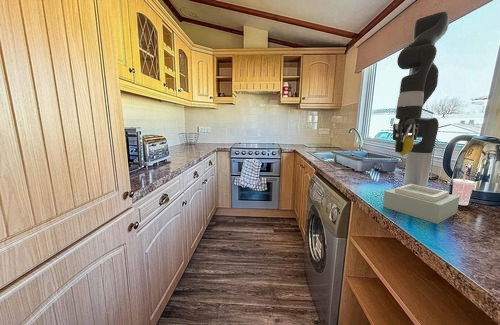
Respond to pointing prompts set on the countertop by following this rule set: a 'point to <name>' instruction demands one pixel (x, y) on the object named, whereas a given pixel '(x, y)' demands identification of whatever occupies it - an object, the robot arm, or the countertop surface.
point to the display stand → (422, 202)
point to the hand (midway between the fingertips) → (403, 151)
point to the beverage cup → (463, 189)
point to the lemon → (406, 145)
